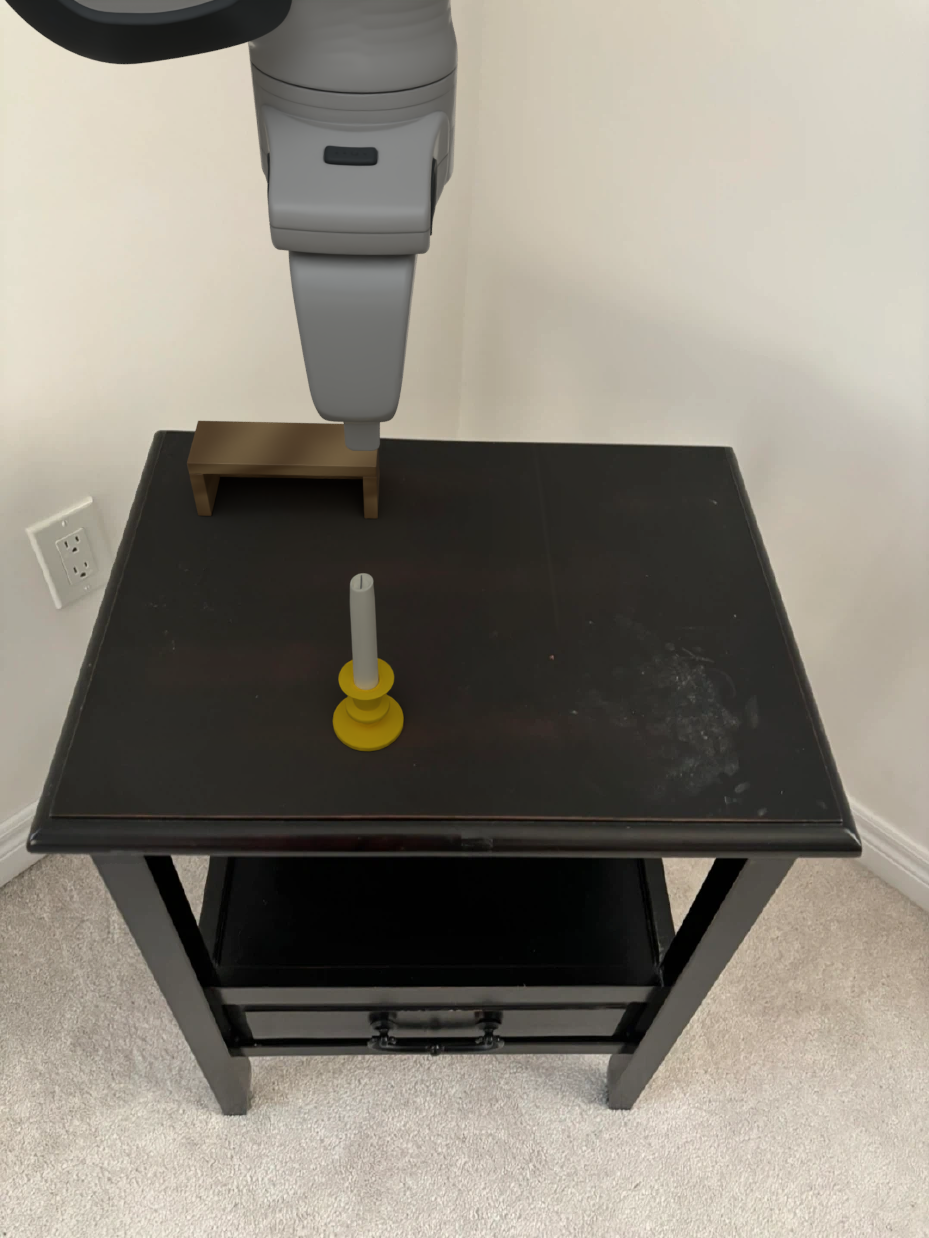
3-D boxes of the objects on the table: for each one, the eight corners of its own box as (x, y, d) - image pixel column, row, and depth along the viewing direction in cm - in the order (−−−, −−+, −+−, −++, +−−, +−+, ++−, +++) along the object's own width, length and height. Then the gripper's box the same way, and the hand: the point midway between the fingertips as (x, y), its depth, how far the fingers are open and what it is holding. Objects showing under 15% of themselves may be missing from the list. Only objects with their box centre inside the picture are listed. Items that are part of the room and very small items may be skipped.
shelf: (198, 516, 83) (186, 462, 79) (208, 473, 87) (197, 420, 83) (377, 518, 84) (376, 466, 80) (379, 476, 88) (378, 424, 84)
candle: (356, 763, 67) (346, 618, 55) (320, 714, 69) (303, 566, 58) (417, 730, 69) (420, 584, 57) (379, 684, 71) (375, 535, 60)
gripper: (303, 48, 49) (320, 294, 59) (263, 231, 35) (294, 509, 45) (424, 53, 49) (420, 296, 59) (431, 235, 35) (424, 510, 46)
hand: (365, 390), depth 52 cm, fingers open, 8 cm apart
